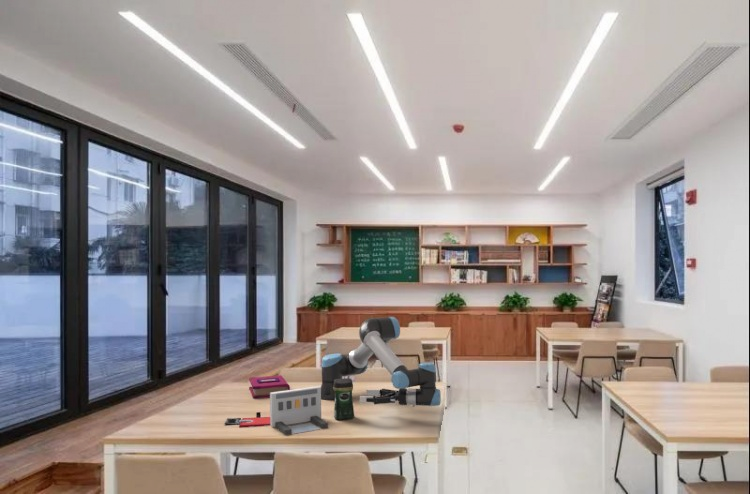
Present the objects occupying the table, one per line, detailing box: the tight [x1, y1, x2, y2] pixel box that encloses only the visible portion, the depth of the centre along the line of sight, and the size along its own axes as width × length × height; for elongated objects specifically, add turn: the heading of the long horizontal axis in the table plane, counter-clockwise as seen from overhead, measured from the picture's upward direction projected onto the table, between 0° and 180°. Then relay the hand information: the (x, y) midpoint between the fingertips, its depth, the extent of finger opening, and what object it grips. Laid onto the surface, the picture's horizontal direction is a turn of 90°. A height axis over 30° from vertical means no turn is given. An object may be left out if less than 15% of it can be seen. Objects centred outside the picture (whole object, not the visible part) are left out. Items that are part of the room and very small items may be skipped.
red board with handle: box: [224, 411, 270, 428], centre depth 234 cm, size 30×3×15 cm
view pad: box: [288, 422, 320, 435], centre depth 222 cm, size 11×12×1 cm
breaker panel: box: [269, 385, 322, 428], centre depth 232 cm, size 4×24×15 cm, turn 118°
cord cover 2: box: [310, 416, 329, 430], centre depth 228 cm, size 14×3×2 cm, turn 28°
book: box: [248, 374, 291, 400], centre depth 296 cm, size 21×28×8 cm
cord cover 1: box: [274, 421, 292, 436], centre depth 220 cm, size 14×3×2 cm, turn 28°
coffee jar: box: [333, 377, 355, 421], centre depth 238 cm, size 10×8×19 cm
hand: (363, 395), depth 236 cm, fingers open, 13 cm apart
